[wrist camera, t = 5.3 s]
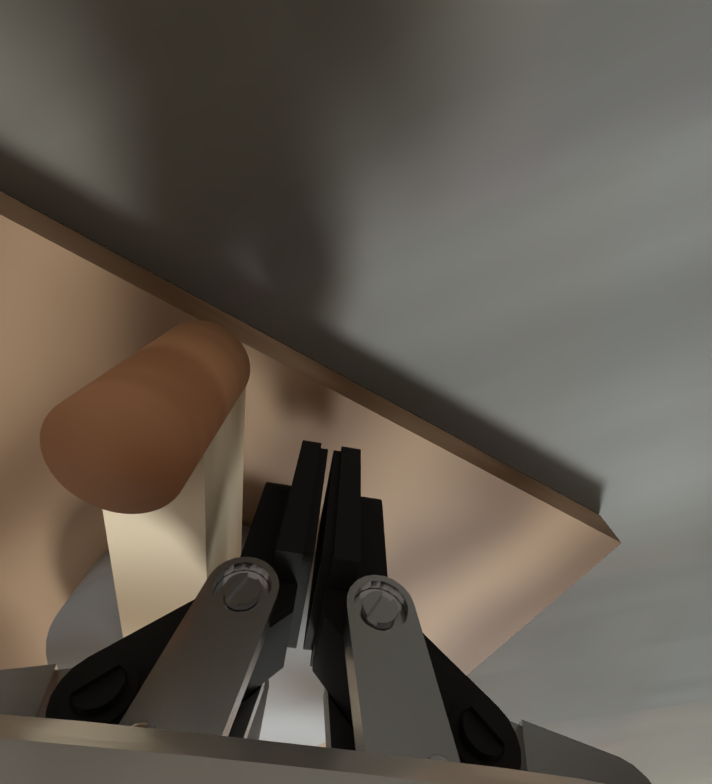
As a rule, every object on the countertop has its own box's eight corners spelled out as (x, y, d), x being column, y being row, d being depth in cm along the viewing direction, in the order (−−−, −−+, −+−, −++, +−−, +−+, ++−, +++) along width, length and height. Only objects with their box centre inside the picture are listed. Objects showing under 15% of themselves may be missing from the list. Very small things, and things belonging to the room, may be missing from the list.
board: (600, 515, 17) (624, 547, 15) (338, 753, 25) (337, 790, 23) (-90, 143, 11) (-161, 133, 10) (-135, 605, 19) (-178, 640, 18)
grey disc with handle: (347, 720, 20) (343, 914, 14) (100, 698, 19) (-2, 893, 14) (441, 331, 11) (515, 446, 6) (5, 269, 11) (-354, 336, 5)
